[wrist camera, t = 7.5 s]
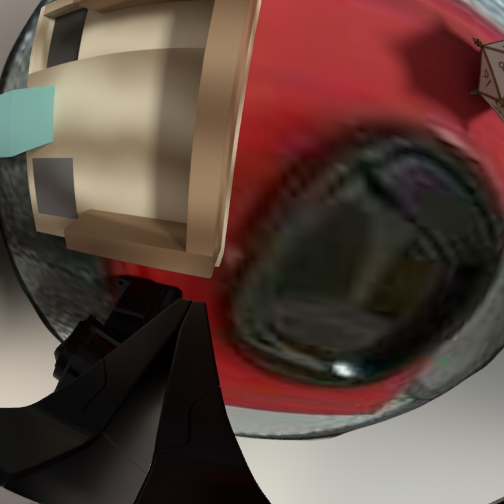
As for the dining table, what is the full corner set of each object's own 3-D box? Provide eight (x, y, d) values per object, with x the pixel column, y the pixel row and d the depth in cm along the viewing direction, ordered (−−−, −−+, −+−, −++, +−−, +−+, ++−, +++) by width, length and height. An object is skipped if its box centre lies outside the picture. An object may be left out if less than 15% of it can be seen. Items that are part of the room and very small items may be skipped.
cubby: (220, 248, 19) (210, 278, 16) (92, 226, 19) (67, 248, 16) (260, -17, 10) (257, -42, 7) (106, -4, 10) (78, -16, 7)
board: (223, 252, 21) (218, 267, 19) (48, 221, 21) (35, 231, 19) (265, -21, 11) (264, -34, 9) (56, 10, 11) (41, 7, 9)
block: (53, 141, 15) (12, 156, 11) (21, 143, 15) (-16, 158, 11) (55, 85, 13) (12, 90, 9) (22, 93, 13) (-17, 101, 9)
